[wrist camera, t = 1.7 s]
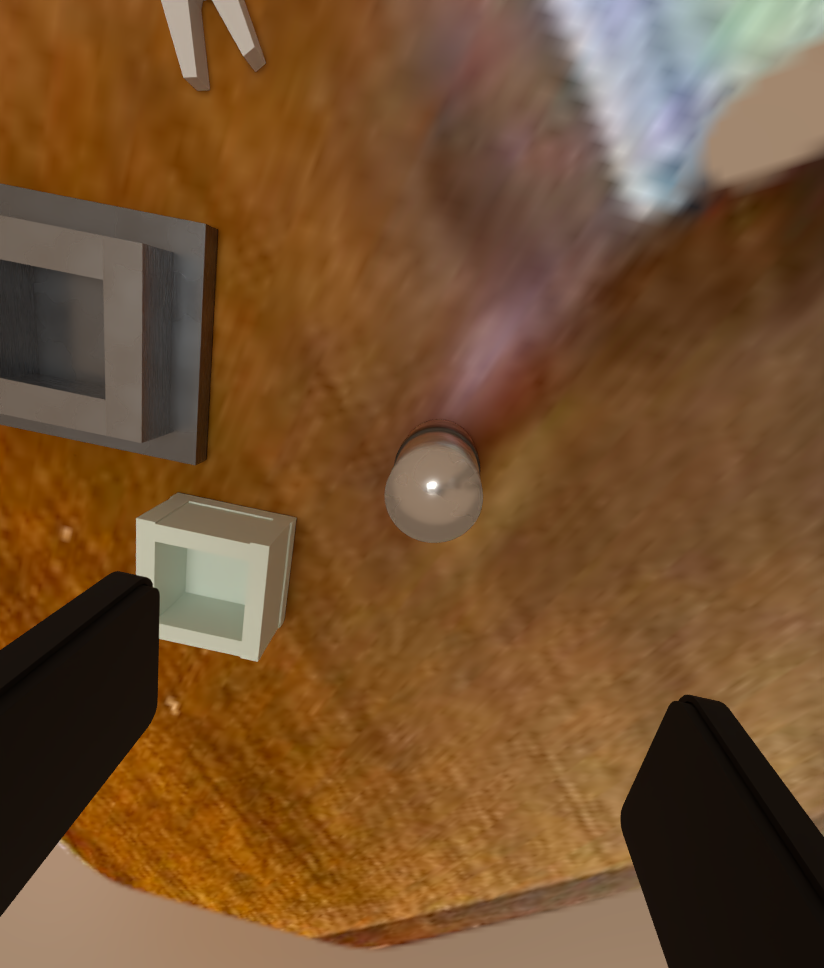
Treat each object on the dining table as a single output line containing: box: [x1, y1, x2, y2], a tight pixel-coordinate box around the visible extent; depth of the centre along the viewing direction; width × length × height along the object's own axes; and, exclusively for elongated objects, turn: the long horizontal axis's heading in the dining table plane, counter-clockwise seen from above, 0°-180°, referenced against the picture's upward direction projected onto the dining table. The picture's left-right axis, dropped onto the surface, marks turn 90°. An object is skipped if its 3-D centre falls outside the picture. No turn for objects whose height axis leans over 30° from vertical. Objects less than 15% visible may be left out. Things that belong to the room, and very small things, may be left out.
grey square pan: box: [0, 184, 218, 465], centre depth 24 cm, size 18×12×4 cm, turn 79°
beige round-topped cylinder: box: [385, 419, 483, 543], centre depth 22 cm, size 4×4×7 cm
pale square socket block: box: [136, 493, 297, 662], centre depth 27 cm, size 7×7×4 cm
